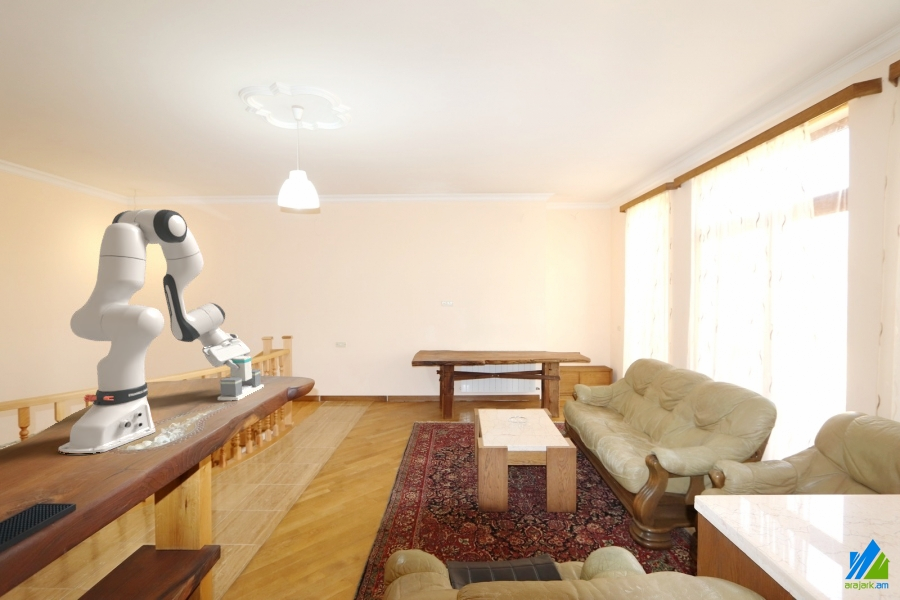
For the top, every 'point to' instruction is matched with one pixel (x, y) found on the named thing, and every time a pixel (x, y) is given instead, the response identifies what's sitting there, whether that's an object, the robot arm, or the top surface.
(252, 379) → the rail mount
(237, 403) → the top surface
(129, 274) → the robot arm
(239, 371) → the block
